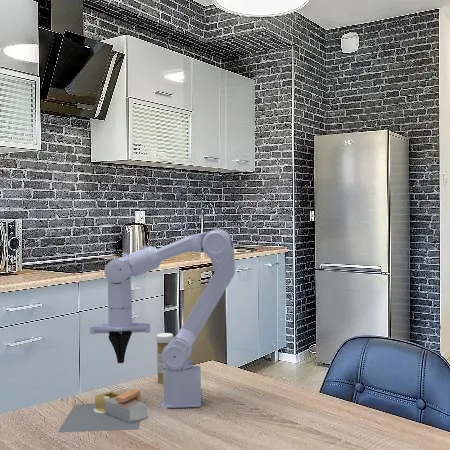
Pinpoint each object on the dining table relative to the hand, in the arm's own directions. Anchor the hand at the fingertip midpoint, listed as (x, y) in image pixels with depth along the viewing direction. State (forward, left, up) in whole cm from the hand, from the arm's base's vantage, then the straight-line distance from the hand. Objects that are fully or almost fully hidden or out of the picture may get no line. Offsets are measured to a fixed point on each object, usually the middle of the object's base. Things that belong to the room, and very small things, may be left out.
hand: (120, 362), depth 136 cm
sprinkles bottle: (-10, -14, -10) cm, 20 cm away
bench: (+2, +10, -10) cm, 15 cm away
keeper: (-2, +9, -10) cm, 14 cm away
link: (-1, +9, -9) cm, 13 cm away
